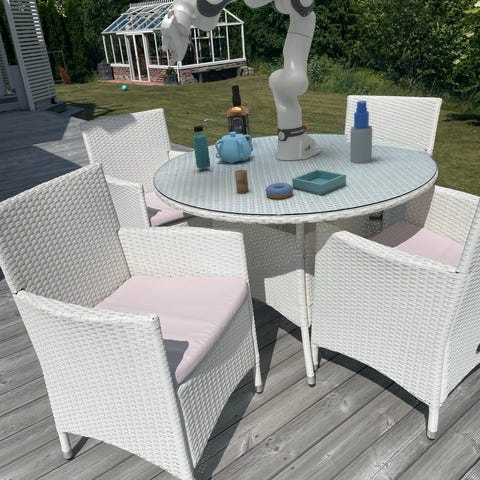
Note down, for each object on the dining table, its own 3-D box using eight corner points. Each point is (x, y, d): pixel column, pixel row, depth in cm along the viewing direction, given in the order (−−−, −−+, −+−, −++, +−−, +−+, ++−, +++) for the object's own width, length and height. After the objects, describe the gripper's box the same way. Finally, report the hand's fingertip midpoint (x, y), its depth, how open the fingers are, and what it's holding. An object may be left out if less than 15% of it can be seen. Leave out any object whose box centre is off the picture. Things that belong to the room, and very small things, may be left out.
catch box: (317, 179, 177) (316, 169, 176) (345, 185, 167) (345, 174, 166) (292, 188, 170) (292, 178, 168) (321, 195, 160) (321, 185, 158)
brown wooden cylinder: (243, 188, 175) (241, 169, 172) (251, 191, 172) (249, 170, 169) (234, 192, 173) (232, 172, 169) (242, 194, 170) (240, 173, 166)
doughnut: (260, 197, 163) (260, 185, 162) (274, 190, 171) (274, 178, 169) (284, 203, 158) (285, 191, 157) (297, 195, 166) (298, 183, 164)
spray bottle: (351, 158, 200) (352, 100, 190) (372, 157, 197) (373, 99, 187) (349, 163, 193) (349, 103, 182) (370, 163, 190) (372, 102, 179)
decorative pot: (212, 164, 214) (208, 135, 209) (229, 155, 227) (226, 128, 221) (242, 165, 207) (239, 136, 201) (257, 156, 219) (255, 128, 213)
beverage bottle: (209, 171, 202) (203, 127, 194) (195, 172, 204) (188, 128, 196) (212, 167, 208) (207, 124, 200) (199, 168, 210) (193, 125, 201)
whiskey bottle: (252, 145, 242) (247, 83, 229) (248, 150, 233) (242, 85, 220) (233, 146, 245) (227, 84, 231) (229, 150, 236) (222, 87, 223)
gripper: (179, 7, 158) (167, 42, 156) (191, 42, 178) (181, 74, 176) (163, 4, 159) (151, 39, 157) (177, 39, 179) (166, 70, 177)
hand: (167, 58), depth 167 cm, fingers open, 8 cm apart
